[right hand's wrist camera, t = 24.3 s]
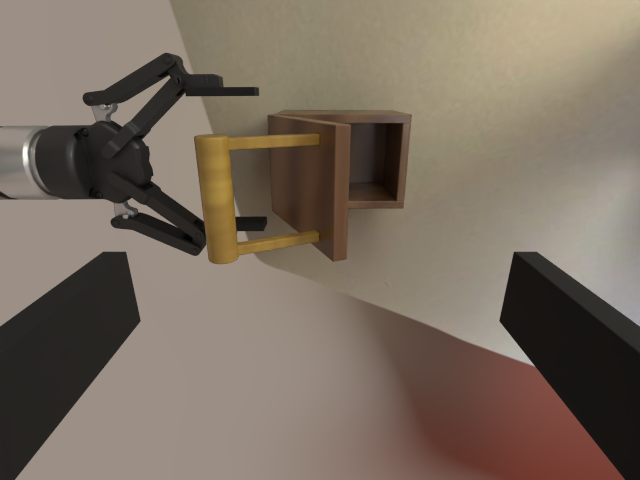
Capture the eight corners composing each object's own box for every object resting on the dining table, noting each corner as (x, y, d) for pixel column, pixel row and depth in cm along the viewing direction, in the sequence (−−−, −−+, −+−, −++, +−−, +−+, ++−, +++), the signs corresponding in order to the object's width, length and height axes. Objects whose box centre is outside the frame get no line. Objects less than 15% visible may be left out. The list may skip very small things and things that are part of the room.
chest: (393, 110, 43) (411, 114, 34) (387, 187, 46) (403, 208, 37) (283, 110, 43) (273, 114, 34) (285, 187, 46) (277, 208, 37)
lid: (351, 124, 22) (199, 129, 19) (346, 259, 26) (217, 285, 22) (278, 114, 34) (174, 116, 30) (282, 209, 37) (189, 221, 33)
